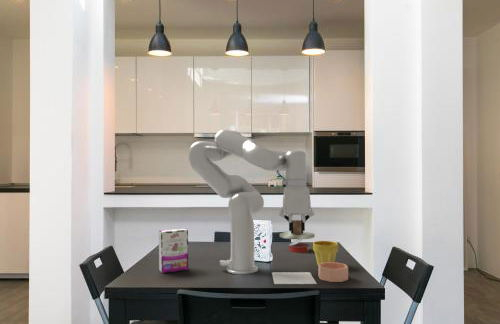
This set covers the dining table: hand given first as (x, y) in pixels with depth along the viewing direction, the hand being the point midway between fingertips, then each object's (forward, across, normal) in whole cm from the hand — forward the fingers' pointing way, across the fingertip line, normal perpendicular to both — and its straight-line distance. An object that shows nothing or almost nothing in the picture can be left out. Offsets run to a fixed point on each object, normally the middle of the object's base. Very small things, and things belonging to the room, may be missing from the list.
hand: (296, 232), depth 146 cm
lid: (+1, 0, 0) cm, 1 cm away
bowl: (+18, +13, 0) cm, 22 cm away
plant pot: (+18, +14, +20) cm, 30 cm away
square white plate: (+17, -2, 0) cm, 17 cm away
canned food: (+18, +7, +50) cm, 54 cm away
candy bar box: (+17, -49, +13) cm, 53 cm away
